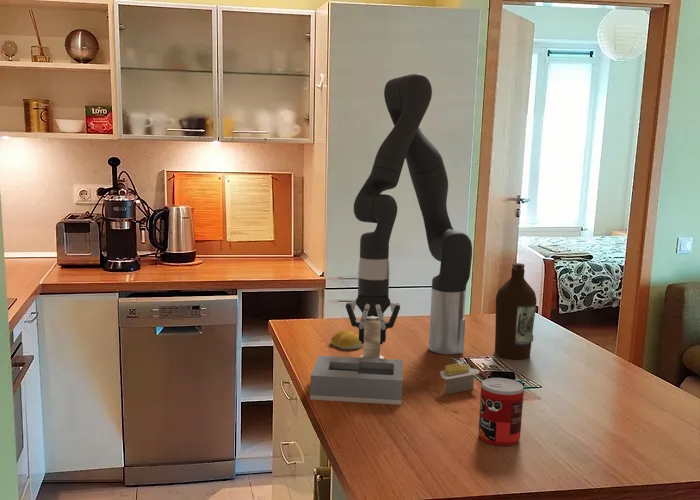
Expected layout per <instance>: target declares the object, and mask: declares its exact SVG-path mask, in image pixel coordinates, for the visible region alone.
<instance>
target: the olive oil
mask: <svg viewBox="0 0 700 500" xmlns="http://www.w3.org/2000/svg"><path fill="white" fill-rule="evenodd" d="M511 265H512V267H511V276H510V278H509V279H508V280H507V281H505V283H503V284H502V285H501V287H499V288H498V290H497V292H496V296H495V328H494V329H495V330H494V334H495V337H494V354H495V355H496V356H498V357H501V358H503V359H509V360H526V359H529V358H530V357H531V348H532V343H533V341H534V334H533V332H534V325H535V317H536V310H537V296H536V295H537V294H536V293H535V290H534V289H533V288H532V287H531V285H530V284H529V283H528V282H527V281H526V279H525V264H524V263H520V262H519V263H518V262H516V263H515V262H514V263H512V264H511Z"/></svg>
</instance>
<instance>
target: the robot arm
mask: <svg viewBox="0 0 700 500" xmlns="http://www.w3.org/2000/svg"><path fill="white" fill-rule="evenodd" d="M383 95H384V96H383V97H384V102H385V105H386V108H387V111H388V113H389V116H390V118H391V119H390V120H391V121H392V124H393V128H392V129H391V131H390V132H389V133H388V134H387V136H386V137H385V139H384V140H383V141H382V143H381V145H380V147H379V148H378V150H377V152H376V155H375V157H374V162H373V165H372V167H371V168H372V169H371V171H370V174H369V176H368V177H367V179H366V181H365V182H364V183H363V186H361V188H360V189H359V192H358V193H357V195H356V197H355V199H354V203H353V214H354V216H355V218H356V219H357V220H358V221H360V222H361V223H373V224H376V227H375V230H373V231H370V232H369V231H368V232H364V233H362V234H361V236H360V239H359V259H358V261H359V262H358V271H357V275H358V276H357V278H358V281H357V283H358V284H357V296H356V297H357V298H356V299H355V300H353V301H347V302H346V303H345V308H346V313H347V315H348V318H349V321H350V325H351V326H352V327H353V328H354V327H356V328H358V335H359V341H361V344H363V345H364V320H366V318H367V316H368V317H370V316H373V317H378V319H379V321H381V330H380V345H383V343H385V342H386V339H387V337H386V336H387V330H388V329H392V328H393V327H394V325H395V322H396V320H397V317H398V315H399V312H400V309H401V304H400V303H399V302H393V301H391V300H390V297H389V294H390V293H389V292H390V291H389V290H390V289H389V288H390V263H389V262H390V260H389V259H390V258H389V254H390V252H389V251H390V250H389V249H390V239H391V235H392V232H393V228H394V225H395V221H396V220H397V215H398V204H397V201H396V199H395V197H393V196H392V195H390V194H384V193H383V192H385V191H389V190H393V189H396V187H397V186H398V183H399V181H400V178H401V174H402V170H403V166H404V163H405V161H406V165H407V168H408V172H409V176H410V179H411V183H412V186H413V189H414V193H415V196H416V199H417V203H418V205H419V210H420V212H421V215H422V220H423V224H424V228H425V229H424V230H425V236H426V240H427V246H428V251H429V252H430V254H431V256H432V257H433V258H434V259H435V260H437V261H438V262H440V266H439V273H438V274H437V275H435V276H433V277H432V281H431V293H430V295H431V296H430V297H431V298H430V314H429V315H430V317H429V336H428V338H429V339H428V350H430V352H433V353H436V354H440V355H457V354H464V349H465V347H464V346H465V332H466V331H465V330H466V318H465V313H466V296H467V295H466V294H467V284H468V282H469V280H470V276H471V268H472V260H473V244H472V240H471V239H470V237H469V236H468V235H467V234H466V233H464V232H462V231H459V230H454V228H453V226H452V223H451V220H450V217H449V213H448V207H447V199H448V194H449V193H448V192H449V179H448V174H447V170H446V165H445V163H444V160H443V157H442V155H441V153H440V152H439V150H438V149H437V148H436V146H435V145H434V144H433V143H432V142H431V141H430V140H429V138H427V137H426V135H425V134H424V133H423V132H422V129H421V128H420V125H421V122H422V120H423V119H424V117H425V115H426V112H427V111H428V108H429V105H430V104H431V101H432V96H433V89H432V83H431V81H430V79H429V78H428V76H426V75H425V74H422V73H419V72H418V73H411V74H407V75H403V76H399V77H394V78H392V79H389V80H388V81H387V82H386V84H385V86H384V89H383ZM356 306H357V308H358V309H359V311H360V312H361V316H360V320H359V321H358V320H357V317H356V314H355V309H356ZM389 307H390V311H391V312H392V313H391V315H390V318H389V319H388V321H387V322H386V320H385V319H386V318H385V314H384V313H385V312H386V311H387V309H389Z"/></svg>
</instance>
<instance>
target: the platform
mask: <svg viewBox="0 0 700 500" xmlns="http://www.w3.org/2000/svg"><path fill="white" fill-rule="evenodd" d="M478 374H480V370H479V369H477V368H471V367H470V364H469V363H468V364H466V363H465V362H459V363H455V364H449V365H445V368H444V370H440V372H439V375H440V377H441V379H444V380H445V393H444V394H445V395H450V394H456V393H460V392H467V391H471V390H474V381H475V380H474V379H475V375H478Z"/></svg>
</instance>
